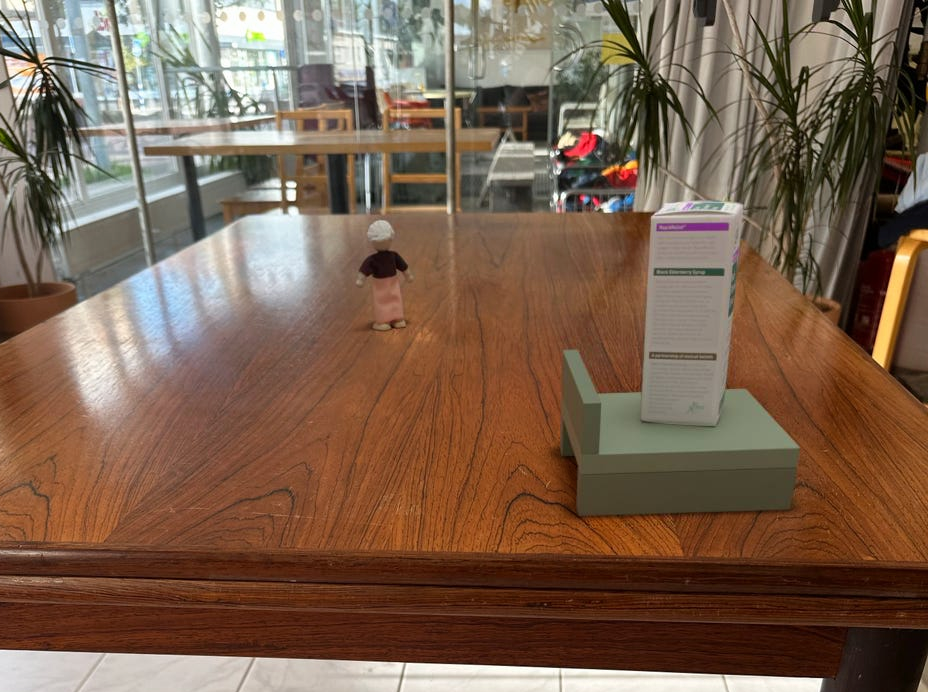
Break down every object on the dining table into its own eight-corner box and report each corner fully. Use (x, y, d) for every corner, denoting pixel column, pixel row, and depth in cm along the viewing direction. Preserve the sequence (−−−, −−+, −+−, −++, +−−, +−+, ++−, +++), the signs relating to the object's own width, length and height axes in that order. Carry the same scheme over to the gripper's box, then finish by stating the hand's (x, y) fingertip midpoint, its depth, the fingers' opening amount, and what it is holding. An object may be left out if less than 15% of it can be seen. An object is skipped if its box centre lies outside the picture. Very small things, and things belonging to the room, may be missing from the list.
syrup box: (717, 428, 68) (742, 210, 61) (636, 422, 70) (650, 210, 63) (724, 404, 73) (748, 199, 65) (647, 399, 75) (662, 199, 67)
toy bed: (738, 447, 79) (751, 343, 75) (789, 514, 67) (809, 395, 63) (559, 453, 79) (562, 349, 75) (578, 521, 67) (583, 403, 63)
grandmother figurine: (401, 320, 124) (395, 215, 118) (419, 324, 121) (413, 217, 115) (353, 330, 120) (344, 222, 113) (371, 335, 117) (362, 225, 111)
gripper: (702, -279, 60) (679, 26, 68) (929, -290, 59) (877, 18, 68) (678, -245, 66) (659, 30, 74) (883, -255, 66) (841, 22, 74)
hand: (763, 24), depth 71 cm, fingers open, 8 cm apart
